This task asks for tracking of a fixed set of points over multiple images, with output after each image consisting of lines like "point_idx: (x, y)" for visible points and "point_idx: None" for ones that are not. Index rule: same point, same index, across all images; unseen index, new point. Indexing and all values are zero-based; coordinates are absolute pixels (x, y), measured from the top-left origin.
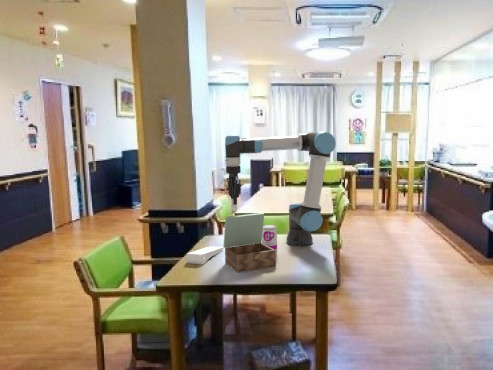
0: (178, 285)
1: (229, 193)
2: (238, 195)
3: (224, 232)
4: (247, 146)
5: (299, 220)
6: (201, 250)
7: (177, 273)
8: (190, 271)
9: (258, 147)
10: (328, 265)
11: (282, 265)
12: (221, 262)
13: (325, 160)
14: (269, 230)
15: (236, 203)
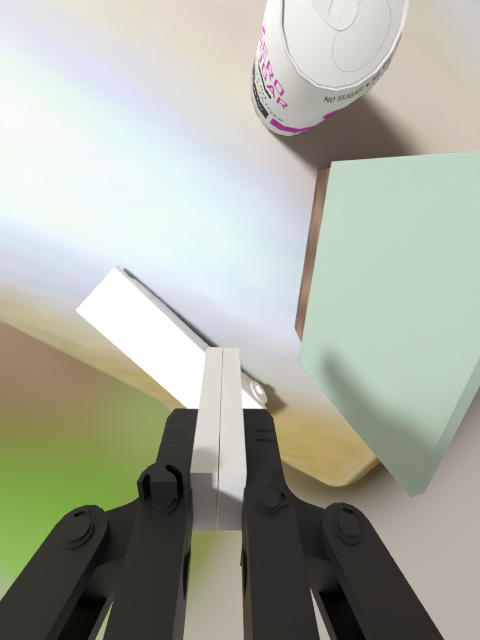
0: (371, 466)
1: (77, 632)
2: (387, 564)
3: (339, 410)
4: None
5: None
6: (179, 380)
7: (292, 451)
8: (298, 426)
9: None
10: None
11: (471, 144)
12: (275, 333)
13: None
14: (389, 62)
15: (272, 425)
